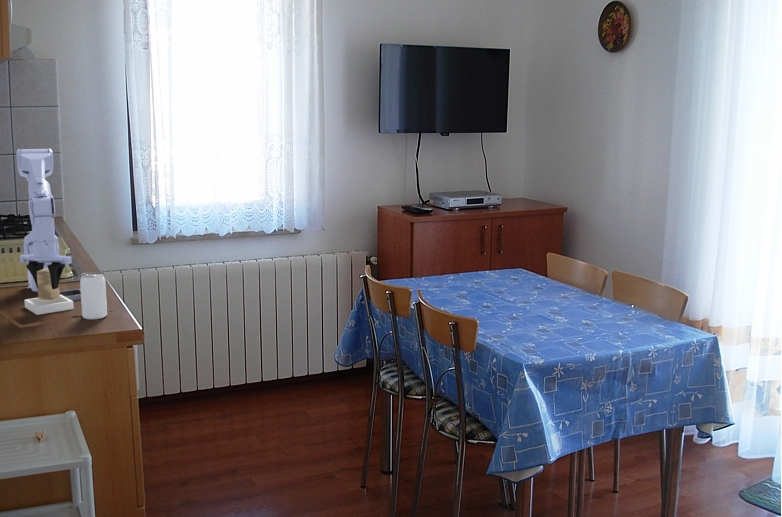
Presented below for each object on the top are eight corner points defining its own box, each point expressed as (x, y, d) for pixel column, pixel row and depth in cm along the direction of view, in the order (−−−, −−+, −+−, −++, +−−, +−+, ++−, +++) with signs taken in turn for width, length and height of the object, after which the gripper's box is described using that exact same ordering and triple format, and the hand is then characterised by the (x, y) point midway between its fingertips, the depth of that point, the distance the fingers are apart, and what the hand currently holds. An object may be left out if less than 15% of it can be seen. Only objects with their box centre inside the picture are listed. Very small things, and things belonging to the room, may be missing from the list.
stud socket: (50, 299, 237) (50, 292, 237) (81, 294, 243) (80, 287, 243) (61, 305, 231) (60, 298, 230) (92, 300, 236) (91, 293, 236)
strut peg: (38, 299, 223) (36, 271, 222) (46, 295, 227) (44, 268, 225) (51, 299, 223) (49, 271, 221) (59, 296, 226) (58, 269, 225)
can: (99, 320, 216) (96, 277, 214) (77, 319, 217) (74, 276, 215) (111, 314, 222) (109, 272, 220) (90, 313, 223) (88, 271, 221)
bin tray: (25, 309, 226) (24, 299, 225) (61, 304, 232) (60, 294, 231) (36, 317, 218) (36, 306, 218) (73, 311, 225) (73, 301, 224)
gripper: (11, 241, 218) (15, 290, 221) (60, 244, 216) (63, 292, 219) (26, 237, 225) (30, 284, 228) (74, 239, 223) (77, 286, 226)
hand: (47, 288), depth 224 cm, fingers closed on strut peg, 4 cm apart
